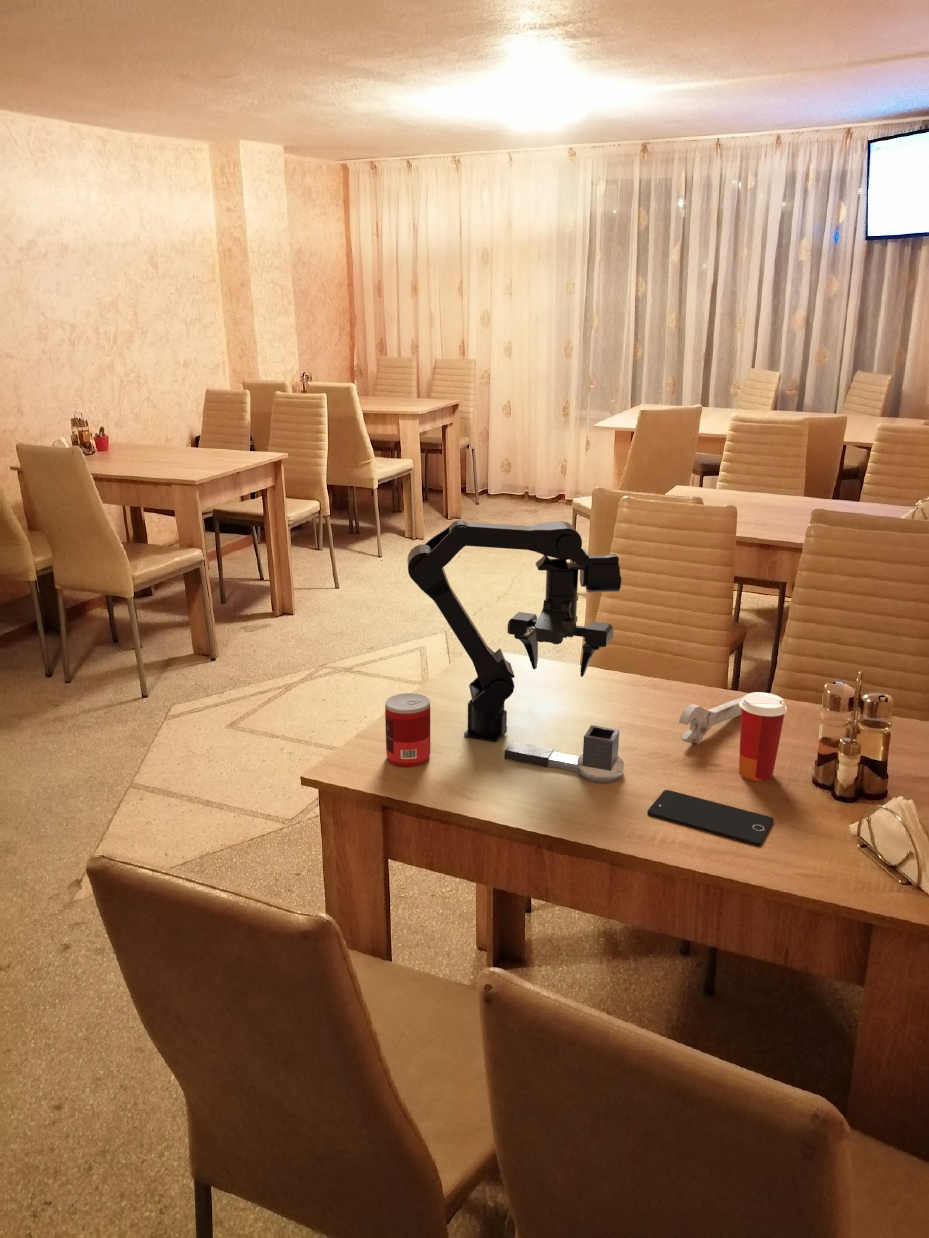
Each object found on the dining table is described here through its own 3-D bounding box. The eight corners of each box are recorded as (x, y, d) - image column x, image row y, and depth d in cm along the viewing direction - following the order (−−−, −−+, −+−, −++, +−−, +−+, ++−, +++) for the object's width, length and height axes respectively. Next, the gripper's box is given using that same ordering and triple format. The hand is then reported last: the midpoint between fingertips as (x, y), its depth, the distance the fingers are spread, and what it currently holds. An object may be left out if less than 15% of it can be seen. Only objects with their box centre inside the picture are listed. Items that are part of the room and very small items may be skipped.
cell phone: (759, 848, 142) (760, 843, 142) (645, 816, 151) (646, 811, 150) (774, 822, 149) (774, 817, 149) (664, 793, 158) (665, 788, 158)
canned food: (439, 757, 169) (439, 700, 166) (407, 772, 164) (406, 714, 160) (409, 744, 174) (409, 688, 171) (377, 758, 169) (376, 701, 165)
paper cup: (779, 767, 166) (788, 694, 162) (778, 787, 159) (787, 711, 155) (733, 760, 168) (741, 688, 164) (730, 780, 162) (738, 705, 157)
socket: (582, 765, 162) (583, 736, 160) (589, 753, 166) (591, 724, 165) (610, 770, 160) (612, 741, 159) (617, 758, 165) (619, 729, 163)
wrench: (758, 720, 192) (683, 752, 170) (749, 717, 193) (674, 749, 172) (764, 682, 190) (689, 710, 169) (755, 680, 192) (680, 707, 170)
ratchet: (500, 764, 167) (500, 738, 165) (515, 745, 174) (515, 720, 172) (616, 786, 159) (618, 760, 157) (627, 766, 166) (629, 740, 164)
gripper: (497, 598, 167) (496, 680, 172) (600, 611, 161) (595, 695, 165) (518, 582, 177) (516, 659, 182) (616, 593, 170) (611, 674, 175)
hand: (558, 672), depth 176 cm, fingers open, 9 cm apart
